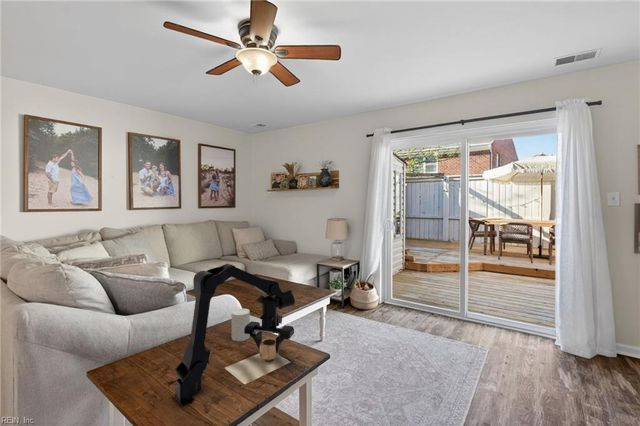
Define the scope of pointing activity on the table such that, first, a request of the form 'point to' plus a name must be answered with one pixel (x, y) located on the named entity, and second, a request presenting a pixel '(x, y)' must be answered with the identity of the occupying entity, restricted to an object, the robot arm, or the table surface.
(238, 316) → the cup
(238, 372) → the duct base
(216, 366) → the table surface
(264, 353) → the sleeve
